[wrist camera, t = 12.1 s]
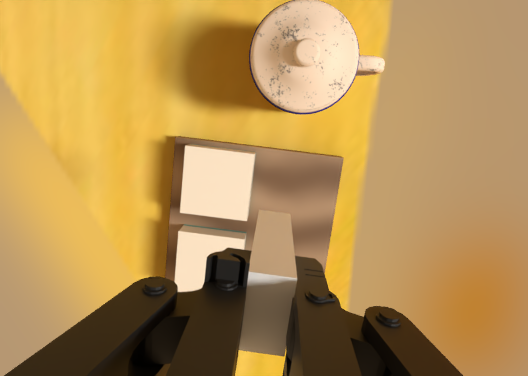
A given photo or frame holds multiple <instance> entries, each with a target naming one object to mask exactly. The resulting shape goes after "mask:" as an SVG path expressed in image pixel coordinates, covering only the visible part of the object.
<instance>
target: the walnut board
mask: <svg viewBox="0 0 528 376" xmlns="http://www.w3.org/2000/svg"><path fill="white" fill-rule="evenodd" d="M188 144H197V145H205V146H213V147H221V148H229V149H237V150H245V151H253V152H256V156H255V165H254V173H253V182H252V190H251V199H250V208H249V215H248V219H247V221H241V220H233V219H225V218H217V217H210V216H202V215H194V214H186V213H180V205H181V192H182V179H183V167H184V154H185V145H188ZM342 164H343V157H341V156H333V155H325V154H317V153H309V152H301V151H293V150H285V149H277V148H269V147H261V146H253V145H245V144H237V143H229V142H221V141H213V140H205V139H197V138H189V137H181V136H178V137H175V150H174V164H173V178H172V192H171V206H170V219H169V233H168V247H167V261H166V275H165V278H167V279H170V280H172V281H174V282H175V269H176V256H177V244H178V231H179V230H180V229H181V228H182V226H183V225H184V224H187V225H195V226H203V227H211V228H219V229H227V230H235V231H243V232H247V233H246V242H245V250H250V251H252V246H253V241H254V235H255V230H256V224H257V219H258V213H259V210H266V211H274V212H281V213H288V214H290V216H291V225H292V234H293V244H294V253H295V256H301V257H308V258H315V259H316V260H317V261H318V262H320V263H321V264H322V267H323V270H324V273H325V267H326V261H327V255H328V249H329V243H330V237H331V231H332V224H333V218H334V212H335V206H336V200H337V194H338V188H339V182H340V176H341V170H342Z"/></svg>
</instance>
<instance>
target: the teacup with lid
mask: <svg viewBox="0 0 528 376" xmlns="http://www.w3.org/2000/svg"><path fill="white" fill-rule="evenodd" d="M249 64H250V71H251V75H252V78H253V80H254V83H255V85H256V87H257V88H258V90H259V91H260V93H261V94H262V95H263V97H264V98H265V99H266V100H267V101H269V102H270V103H271V104H272V105H274V106H275V107H277V108H279V109H281V110H283V111H286V112H289V113H294V114H312V113H317V112H320V111H323V110H325V109H327V108H329V107H331V106H332V105H334V104H335V103H336V102H338V101H339V100H340V99H341V98H342V97H343V96H344V95H345V94H346V92H347V91H348V90H349V88H350V87H351V85H352V83H353V81H354V79H355V76H366V75H375V74H379V73H381V72H382V71H383V70H384V65H385V62H384V59H382V58H380V57H376V56H365V55H359V45H358V40H357V37H356V34H355V31H354V29H353V27H352V26H351V24H350V22H349V21H348V20H347V18H346V17H345V16H344V15H343V14H342V13H341V12H340V11H339V10H337V9H336V8H335V7H333V6H331V5H329V4H327V3H325V2H322V1H319V0H293V1H289V2H286V3H284V4H282V5H280V6H278V7H277V8H275V9H274V10H272V11H271V12H270V13H269V14H268V15H267V16H266V17H265V18H264V19H263V20H262V21H261V23H260V24H259V26H258V27H257V29H256V31H255V33H254V36H253V38H252V41H251V45H250V52H249Z"/></svg>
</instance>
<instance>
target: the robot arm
mask: <svg viewBox="0 0 528 376" xmlns="http://www.w3.org/2000/svg"><path fill="white" fill-rule="evenodd" d="M285 349H286V351H287V352H286V358H285V364H284V370H283V376H463V375H462V374H461V373H460V372H459V371H458V370H457V369H456V368H455V367H454V366H453V365H452V364H451V363H450V361H449V360H448V359H447V358H446V357H445V356H444V355H443V354H442V353H441V352H440V351H439V350H438V349H437V348H436V347H435V346H434V345H433V344H432V343H431V342H430V341H429V340H428V339H427V338H426V337H425V336H424V335H423V333H422V332H421V331H419V329H418V328H417V327H416V326H415V325H414V324H413V323H412V322H411V321H410V320H409V319H408V318H406V317H405V316H404V315H403V314H401V313H399V312H397V311H396V310H394V309H392V308H388V307H381V306H373V307H369V308H368V309H366V311H365V315H364V317H362V316H359V315H356V314H353V313H350V312H348V311H345V310H344V309H342V308H341V306H340V302H339V300H338V298H337V297H336V295H334V294H333V293H332V292H330V291H329V289H328V285H327V281H326V278H325V274H324V270H323V267H322V264H321V263H320V262H318V261H317V260H316V259H315V258H308V257H301V256H295V253H294V244H293V234H292V225H291V216H290V214H288V213H281V212H274V211H266V210H259V213H258V219H257V224H256V230H255V235H254V241H253V246H252V251H250V250H243V249H236V248H226V249H225V250H223V251H219V252H214V253H211V254H210V255H208V256H207V260H206V270H205V280H204V284H203V286H202V288H201V289H198V290H194V291H187V292H178V287H177V284H176V283H175V282H174V281H172V280H170V279H167V278H162V277H149V278H144V279H141V280H139V281H137V282H135V283H133V284H132V285H130V286H129V287H128V288H126V289H125V290H123V291H122V292H121V293H119V294H118V295H116V296H115V297H114V298H112V299H111V300H109V301H108V302H107V303H105V304H104V305H102V306H101V307H100V308H99V309H97V310H95V311H94V312H93V313H91V314H90V315H88V316H87V317H86V318H84V319H83V320H81V321H80V322H79V323H77V324H76V325H74V326H73V327H72V328H70V329H69V330H67V331H66V332H65V333H63V334H62V335H60V336H59V337H58V338H56V339H55V340H53V341H52V342H51V343H49V344H48V345H46V346H45V347H43V348H42V349H41V350H39V351H38V352H37V353H35V354H34V355H32V356H31V357H29V358H28V359H27V360H25V361H24V362H23V363H21V364H20V365H18V366H17V367H15V368H14V369H13V370H11V371H10V372H8V373H7V374H6V375H4V376H235V371H236V365H237V358H238V350H243V351H250V352H257V353H264V354H271V355H278V356H284V355H285Z"/></svg>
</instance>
